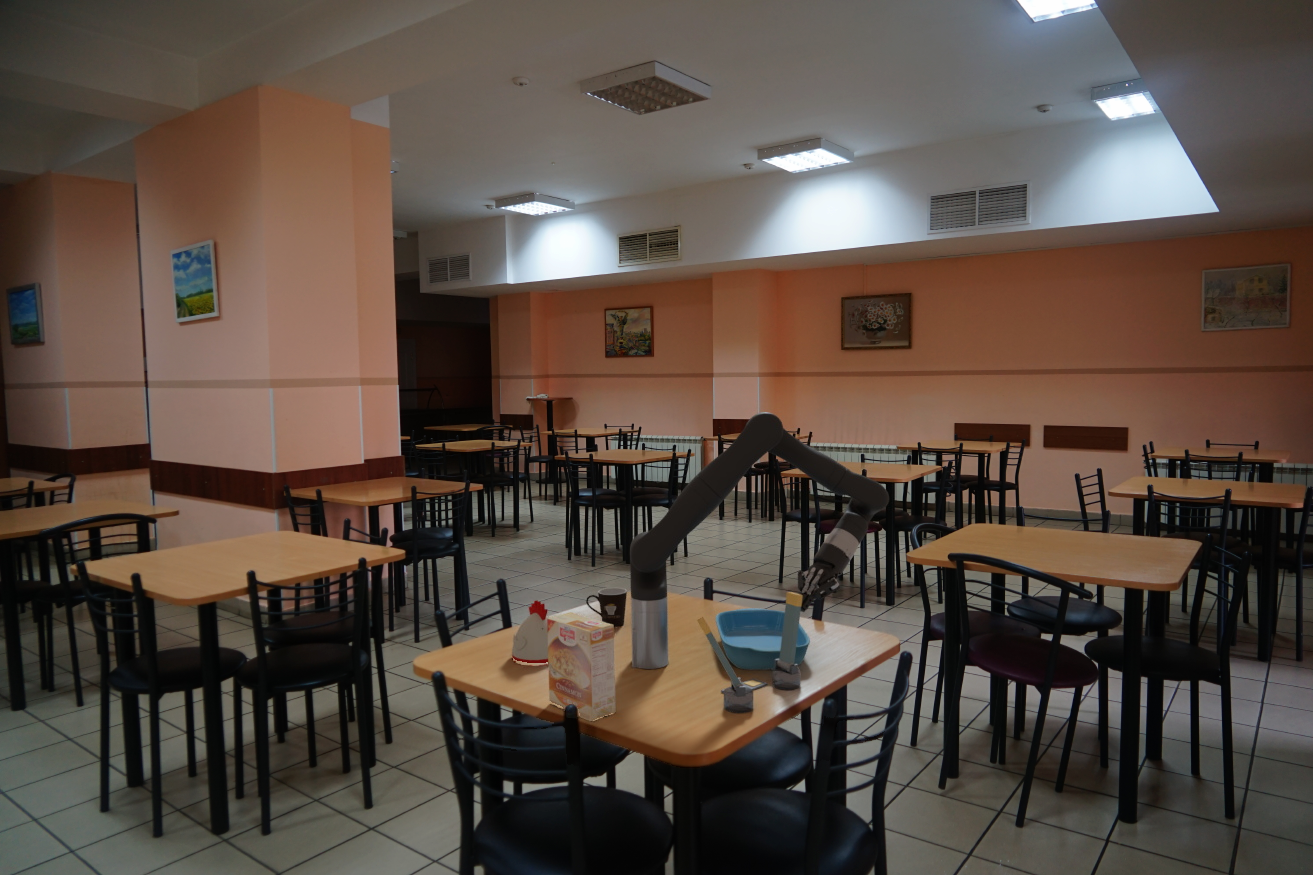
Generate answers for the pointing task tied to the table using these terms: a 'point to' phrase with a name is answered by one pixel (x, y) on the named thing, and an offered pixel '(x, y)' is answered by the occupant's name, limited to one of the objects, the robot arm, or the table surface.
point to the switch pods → (743, 695)
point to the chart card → (752, 684)
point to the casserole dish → (756, 637)
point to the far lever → (790, 630)
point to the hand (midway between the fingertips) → (799, 609)
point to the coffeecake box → (581, 664)
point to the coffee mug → (611, 605)
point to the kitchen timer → (532, 636)
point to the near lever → (719, 653)
